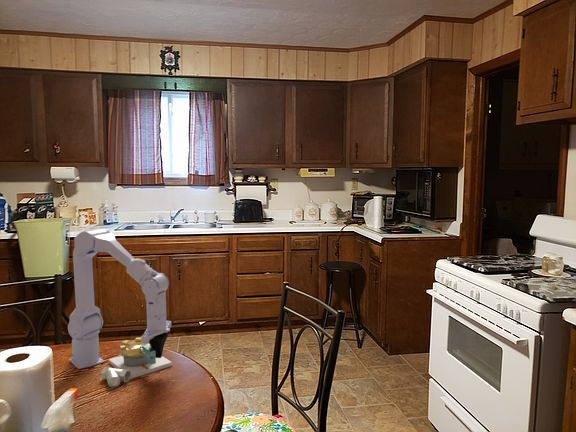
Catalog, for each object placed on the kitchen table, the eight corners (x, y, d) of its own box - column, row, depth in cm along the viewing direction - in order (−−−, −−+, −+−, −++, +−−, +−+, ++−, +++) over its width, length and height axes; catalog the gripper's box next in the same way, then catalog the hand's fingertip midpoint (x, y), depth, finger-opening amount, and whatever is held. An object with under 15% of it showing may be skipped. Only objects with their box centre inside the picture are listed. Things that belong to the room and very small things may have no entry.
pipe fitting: (117, 391, 129) (131, 379, 136) (116, 378, 129) (130, 367, 135) (93, 387, 131) (108, 376, 138) (92, 375, 131) (107, 364, 137)
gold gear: (115, 350, 146) (114, 338, 145) (145, 343, 152) (145, 331, 152) (136, 369, 132) (136, 355, 131) (169, 360, 138) (168, 347, 138)
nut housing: (108, 362, 147) (108, 350, 147) (149, 351, 157) (149, 339, 156) (129, 379, 135) (128, 365, 135) (171, 365, 145) (171, 353, 144)
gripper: (156, 323, 130) (157, 368, 131) (179, 308, 144) (180, 349, 145) (134, 321, 132) (135, 366, 133) (159, 306, 146) (160, 347, 147)
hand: (157, 357), depth 139 cm, fingers closed
